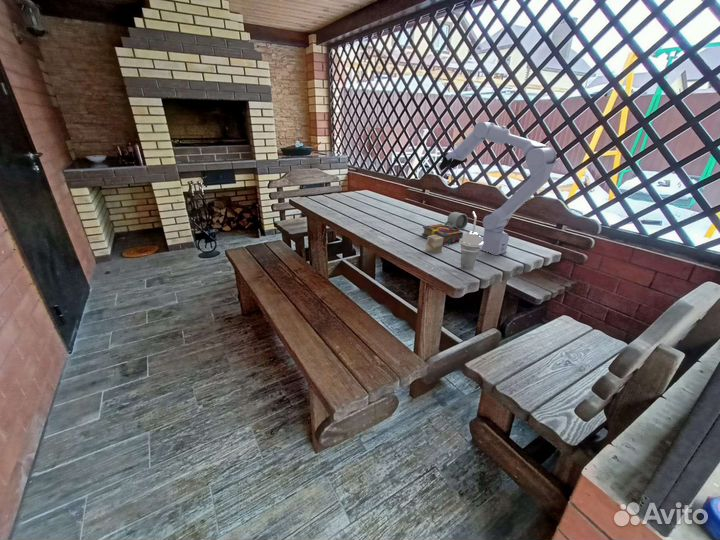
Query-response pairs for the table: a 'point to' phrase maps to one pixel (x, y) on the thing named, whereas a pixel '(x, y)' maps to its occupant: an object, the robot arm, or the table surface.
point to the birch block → (434, 243)
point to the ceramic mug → (457, 220)
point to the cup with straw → (470, 247)
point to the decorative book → (443, 233)
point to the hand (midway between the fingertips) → (445, 167)
